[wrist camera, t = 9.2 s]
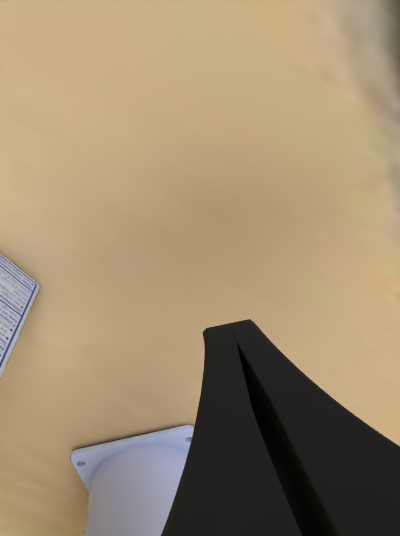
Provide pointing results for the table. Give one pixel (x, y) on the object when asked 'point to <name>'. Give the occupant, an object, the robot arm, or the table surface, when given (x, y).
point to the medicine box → (13, 306)
